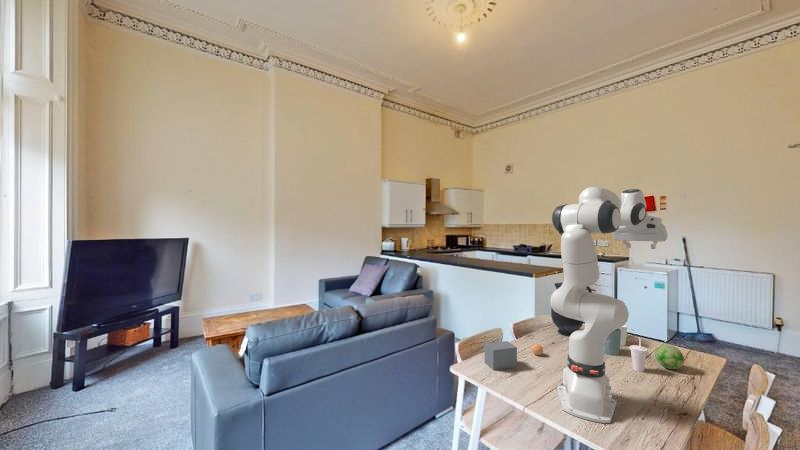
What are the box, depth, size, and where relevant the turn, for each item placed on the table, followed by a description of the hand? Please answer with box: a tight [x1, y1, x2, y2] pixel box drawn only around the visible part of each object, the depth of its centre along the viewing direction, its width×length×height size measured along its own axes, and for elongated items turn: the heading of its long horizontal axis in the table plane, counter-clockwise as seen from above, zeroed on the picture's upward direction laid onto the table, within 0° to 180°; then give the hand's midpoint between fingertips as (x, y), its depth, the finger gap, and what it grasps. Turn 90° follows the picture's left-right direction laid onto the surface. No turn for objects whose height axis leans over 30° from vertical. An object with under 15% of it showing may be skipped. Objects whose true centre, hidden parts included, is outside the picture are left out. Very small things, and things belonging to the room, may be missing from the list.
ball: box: [531, 343, 544, 356], centre depth 151 cm, size 5×5×5 cm
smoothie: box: [629, 337, 649, 373], centre depth 136 cm, size 6×6×14 cm
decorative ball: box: [654, 344, 685, 370], centre depth 138 cm, size 10×10×10 cm
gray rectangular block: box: [484, 340, 518, 371], centre depth 141 cm, size 12×7×9 cm, turn 104°
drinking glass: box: [604, 328, 621, 356], centre depth 155 cm, size 10×10×12 cm
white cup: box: [620, 324, 628, 347], centre depth 165 cm, size 8×8×10 cm
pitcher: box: [550, 281, 593, 337], centre depth 178 cm, size 17×21×30 cm
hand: (640, 248), depth 147 cm, fingers open, 8 cm apart
